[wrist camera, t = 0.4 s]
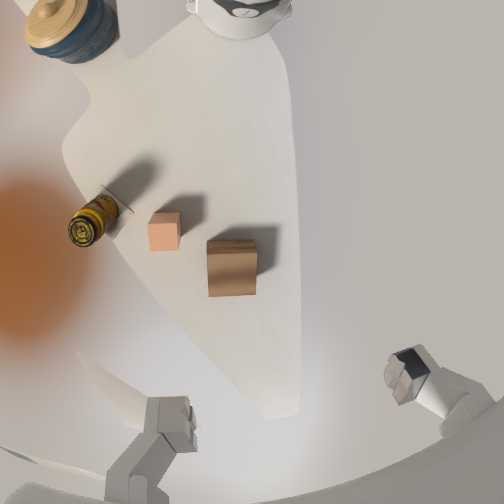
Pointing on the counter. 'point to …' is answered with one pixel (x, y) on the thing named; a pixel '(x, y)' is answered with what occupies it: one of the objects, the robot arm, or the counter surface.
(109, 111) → the counter surface
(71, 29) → the canister
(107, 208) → the condiment
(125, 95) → the counter surface
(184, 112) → the counter surface
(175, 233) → the terracotta cube
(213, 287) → the walnut box
